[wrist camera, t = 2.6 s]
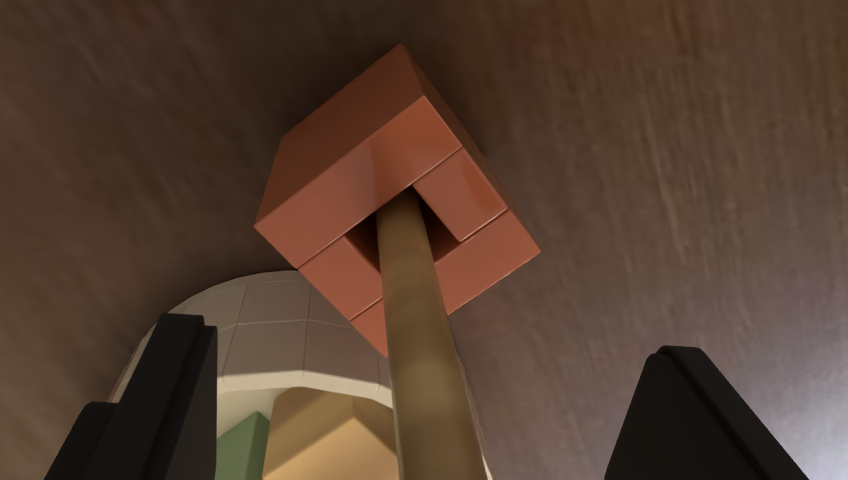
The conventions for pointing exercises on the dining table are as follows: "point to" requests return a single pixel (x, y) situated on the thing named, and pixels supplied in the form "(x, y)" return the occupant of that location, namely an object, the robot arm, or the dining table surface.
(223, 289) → the stir bowl
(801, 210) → the dining table surface
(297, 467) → the maple block
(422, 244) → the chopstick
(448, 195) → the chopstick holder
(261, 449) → the sage block
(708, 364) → the robot arm
